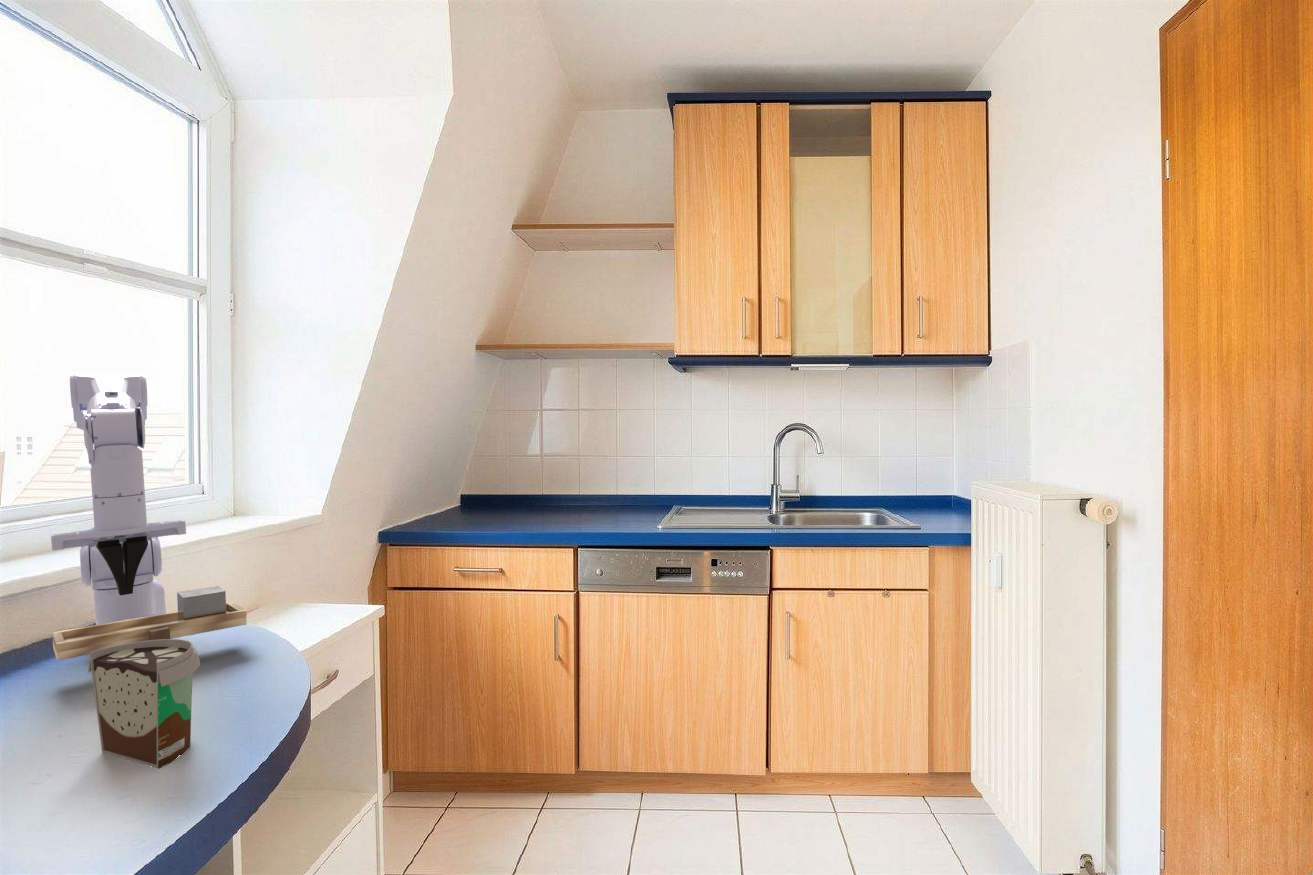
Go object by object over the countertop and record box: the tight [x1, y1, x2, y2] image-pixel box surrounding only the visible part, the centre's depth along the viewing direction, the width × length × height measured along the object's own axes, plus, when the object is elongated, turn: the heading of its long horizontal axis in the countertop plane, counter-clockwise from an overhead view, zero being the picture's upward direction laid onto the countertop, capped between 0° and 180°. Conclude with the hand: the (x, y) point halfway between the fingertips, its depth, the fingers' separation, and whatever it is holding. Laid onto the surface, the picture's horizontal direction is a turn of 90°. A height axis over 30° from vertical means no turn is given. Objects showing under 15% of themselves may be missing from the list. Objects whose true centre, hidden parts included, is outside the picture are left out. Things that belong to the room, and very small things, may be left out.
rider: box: [176, 585, 227, 621], centre depth 97 cm, size 5×5×4 cm
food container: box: [87, 638, 201, 770], centre depth 68 cm, size 12×6×10 cm, turn 65°
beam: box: [52, 601, 248, 661], centre depth 93 cm, size 20×8×2 cm, turn 134°
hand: (125, 593), depth 94 cm, fingers closed
